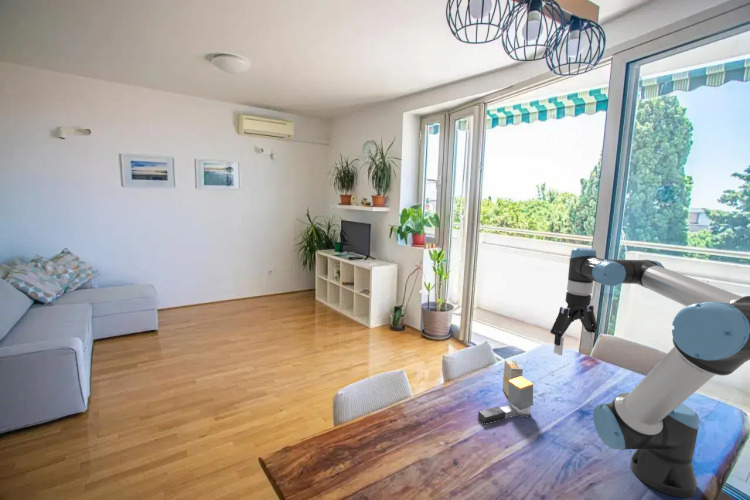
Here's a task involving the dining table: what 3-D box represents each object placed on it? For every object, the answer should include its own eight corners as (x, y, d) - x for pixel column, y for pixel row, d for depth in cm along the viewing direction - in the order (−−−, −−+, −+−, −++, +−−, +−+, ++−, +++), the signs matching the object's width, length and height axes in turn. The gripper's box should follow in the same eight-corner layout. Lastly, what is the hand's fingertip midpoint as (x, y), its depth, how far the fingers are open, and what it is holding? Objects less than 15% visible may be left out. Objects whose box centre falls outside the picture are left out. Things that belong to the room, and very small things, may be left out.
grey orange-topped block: (532, 405, 135) (533, 383, 133) (520, 410, 132) (520, 388, 131) (520, 396, 140) (520, 376, 138) (508, 401, 138) (508, 380, 136)
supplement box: (520, 399, 145) (523, 369, 143) (508, 399, 145) (511, 368, 143) (513, 389, 153) (516, 359, 151) (501, 388, 153) (504, 359, 151)
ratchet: (520, 404, 141) (521, 386, 140) (534, 414, 135) (536, 396, 134) (475, 415, 133) (476, 396, 132) (487, 427, 127) (489, 407, 126)
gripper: (593, 287, 133) (586, 342, 136) (543, 292, 124) (537, 351, 127) (613, 293, 126) (605, 350, 129) (561, 298, 117) (554, 360, 120)
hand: (571, 351), depth 128 cm, fingers open, 13 cm apart
